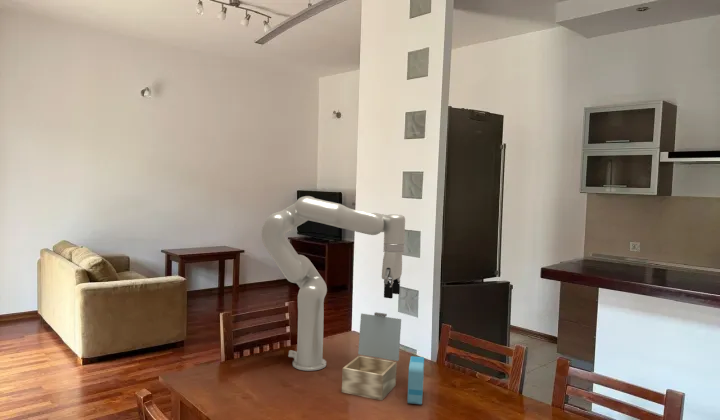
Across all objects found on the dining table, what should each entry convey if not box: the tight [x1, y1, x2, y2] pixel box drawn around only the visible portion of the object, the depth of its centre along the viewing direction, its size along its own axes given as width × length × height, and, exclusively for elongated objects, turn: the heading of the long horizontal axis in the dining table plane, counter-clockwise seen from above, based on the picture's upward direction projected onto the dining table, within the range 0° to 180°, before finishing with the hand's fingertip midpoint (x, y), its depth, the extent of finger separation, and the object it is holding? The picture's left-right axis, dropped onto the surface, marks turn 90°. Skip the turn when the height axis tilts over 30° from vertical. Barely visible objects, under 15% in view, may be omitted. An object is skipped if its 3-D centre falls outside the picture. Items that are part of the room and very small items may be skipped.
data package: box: [407, 355, 425, 405], centre depth 164 cm, size 12×4×12 cm, turn 171°
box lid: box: [358, 311, 402, 362], centre depth 177 cm, size 15×15×2 cm
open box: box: [341, 355, 398, 401], centre depth 170 cm, size 14×14×8 cm
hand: (391, 295), depth 187 cm, fingers open, 7 cm apart
